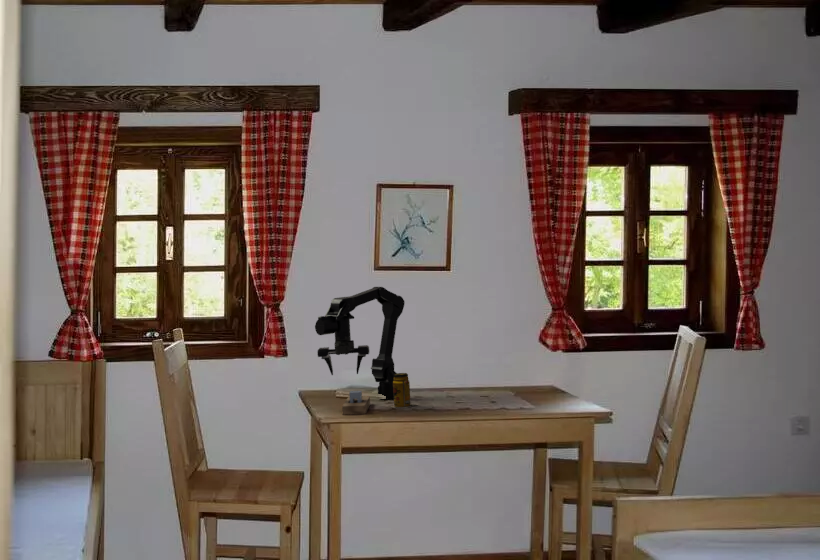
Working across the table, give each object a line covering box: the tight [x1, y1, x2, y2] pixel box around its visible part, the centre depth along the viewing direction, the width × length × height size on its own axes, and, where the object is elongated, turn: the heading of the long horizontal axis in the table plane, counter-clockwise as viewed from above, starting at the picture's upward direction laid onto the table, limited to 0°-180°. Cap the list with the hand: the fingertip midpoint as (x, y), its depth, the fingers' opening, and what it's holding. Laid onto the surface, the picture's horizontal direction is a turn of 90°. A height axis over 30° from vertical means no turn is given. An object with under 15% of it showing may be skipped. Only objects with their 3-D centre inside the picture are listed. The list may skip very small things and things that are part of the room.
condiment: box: [390, 372, 419, 409], centre depth 380 cm, size 7×8×12 cm
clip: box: [348, 390, 363, 403], centre depth 377 cm, size 4×4×7 cm
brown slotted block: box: [341, 395, 371, 415], centre depth 378 cm, size 8×20×3 cm, turn 177°
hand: (344, 374), depth 385 cm, fingers open, 9 cm apart
